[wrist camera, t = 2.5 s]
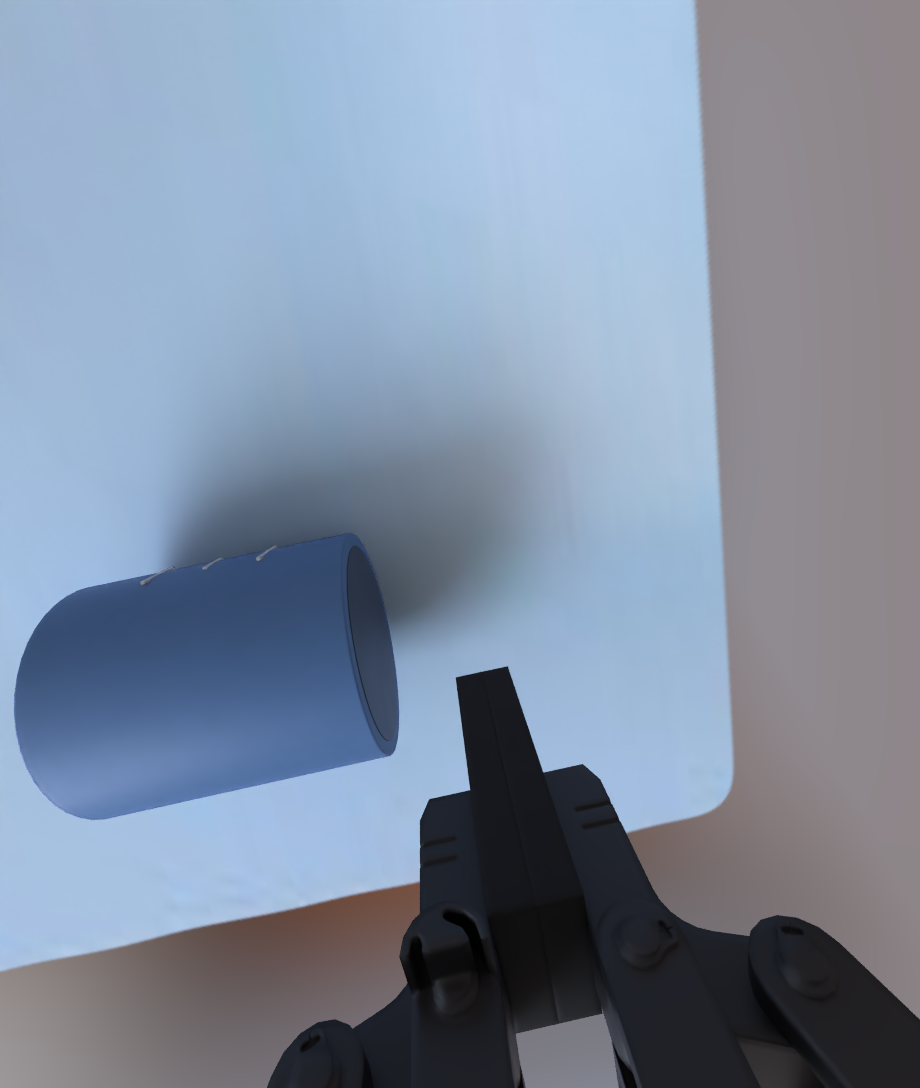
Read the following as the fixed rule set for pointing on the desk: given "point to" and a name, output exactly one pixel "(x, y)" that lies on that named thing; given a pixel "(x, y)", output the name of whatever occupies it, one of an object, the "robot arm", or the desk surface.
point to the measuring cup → (208, 680)
